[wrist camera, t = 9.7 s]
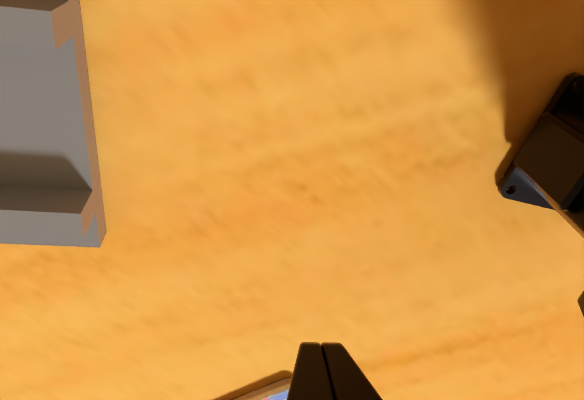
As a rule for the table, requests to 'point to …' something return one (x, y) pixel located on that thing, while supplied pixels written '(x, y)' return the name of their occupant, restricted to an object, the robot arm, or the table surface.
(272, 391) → the puzzle board
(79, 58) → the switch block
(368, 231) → the table surface
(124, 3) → the table surface
